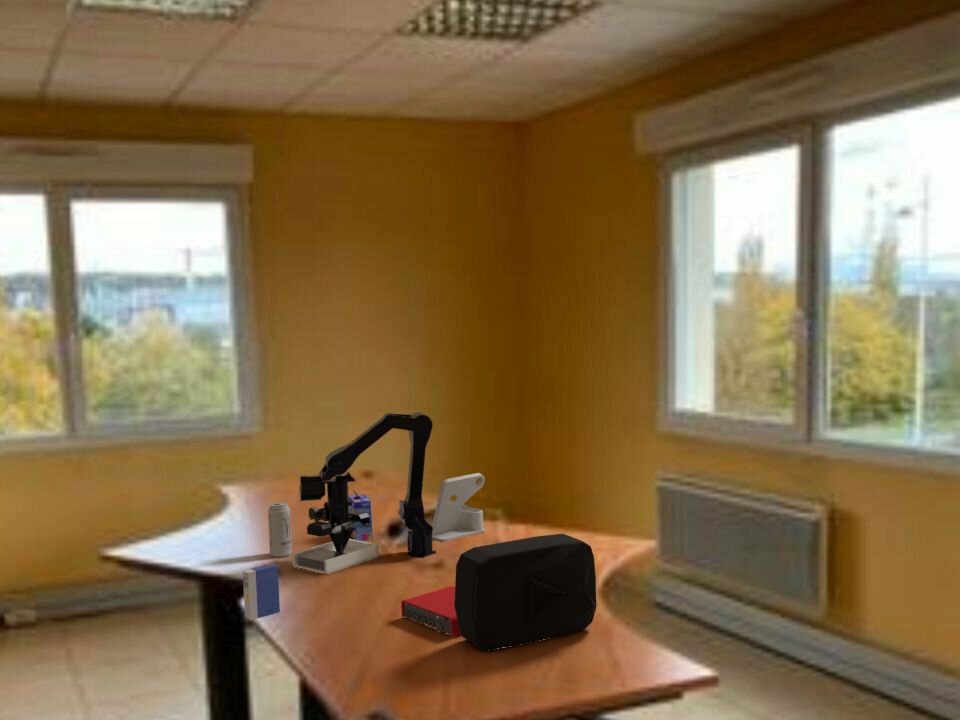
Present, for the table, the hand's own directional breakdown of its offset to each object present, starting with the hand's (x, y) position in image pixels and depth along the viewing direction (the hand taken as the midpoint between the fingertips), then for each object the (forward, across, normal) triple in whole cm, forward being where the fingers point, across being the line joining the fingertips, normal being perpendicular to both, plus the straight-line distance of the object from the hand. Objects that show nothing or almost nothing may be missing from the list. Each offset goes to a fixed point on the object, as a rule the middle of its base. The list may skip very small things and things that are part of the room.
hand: (340, 554), depth 270 cm
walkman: (+2, +42, +18) cm, 46 cm away
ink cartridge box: (+2, -22, -14) cm, 26 cm away
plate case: (+2, +2, 0) cm, 3 cm away
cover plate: (+1, +6, 0) cm, 6 cm away
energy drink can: (+2, +5, -18) cm, 19 cm away
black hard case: (+2, +19, +77) cm, 79 cm away
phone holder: (+2, -41, +8) cm, 41 cm away
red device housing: (+3, +20, +56) cm, 59 cm away
